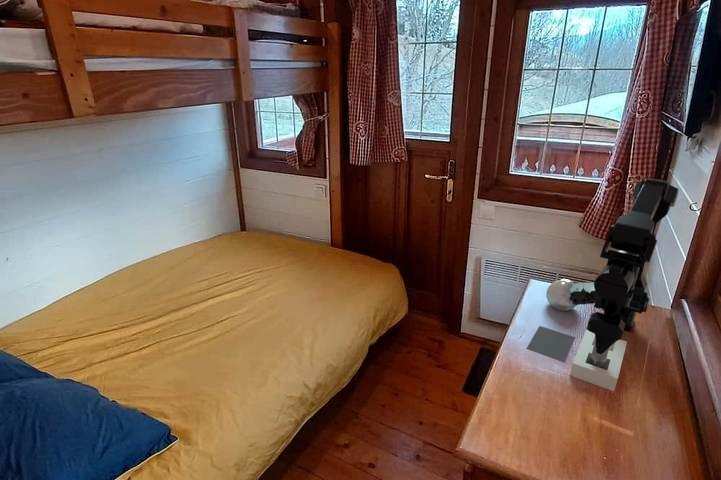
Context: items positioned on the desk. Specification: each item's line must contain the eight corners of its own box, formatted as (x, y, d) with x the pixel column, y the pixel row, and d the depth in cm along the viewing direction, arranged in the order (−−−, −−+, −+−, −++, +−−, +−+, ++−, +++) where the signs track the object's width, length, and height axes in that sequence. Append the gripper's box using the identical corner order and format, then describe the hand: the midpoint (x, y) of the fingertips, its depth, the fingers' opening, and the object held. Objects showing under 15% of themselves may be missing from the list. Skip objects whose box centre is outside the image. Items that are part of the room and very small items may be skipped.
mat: (539, 327, 118) (539, 325, 117) (575, 339, 113) (575, 337, 113) (525, 350, 109) (526, 348, 108) (564, 364, 104) (564, 362, 104)
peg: (588, 368, 102) (597, 333, 98) (602, 373, 101) (612, 338, 97) (585, 375, 100) (594, 340, 96) (600, 381, 99) (609, 344, 95)
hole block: (583, 342, 112) (586, 329, 110) (623, 354, 107) (627, 341, 105) (569, 376, 100) (572, 363, 98) (613, 393, 95) (617, 379, 93)
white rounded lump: (541, 312, 124) (547, 281, 120) (546, 297, 132) (552, 268, 128) (575, 321, 120) (583, 290, 116) (579, 305, 128) (586, 275, 124)
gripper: (585, 255, 102) (572, 312, 108) (567, 287, 88) (554, 350, 94) (640, 267, 96) (623, 327, 102) (630, 304, 82) (611, 371, 88)
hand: (602, 342), depth 97 cm, fingers open, 9 cm apart
